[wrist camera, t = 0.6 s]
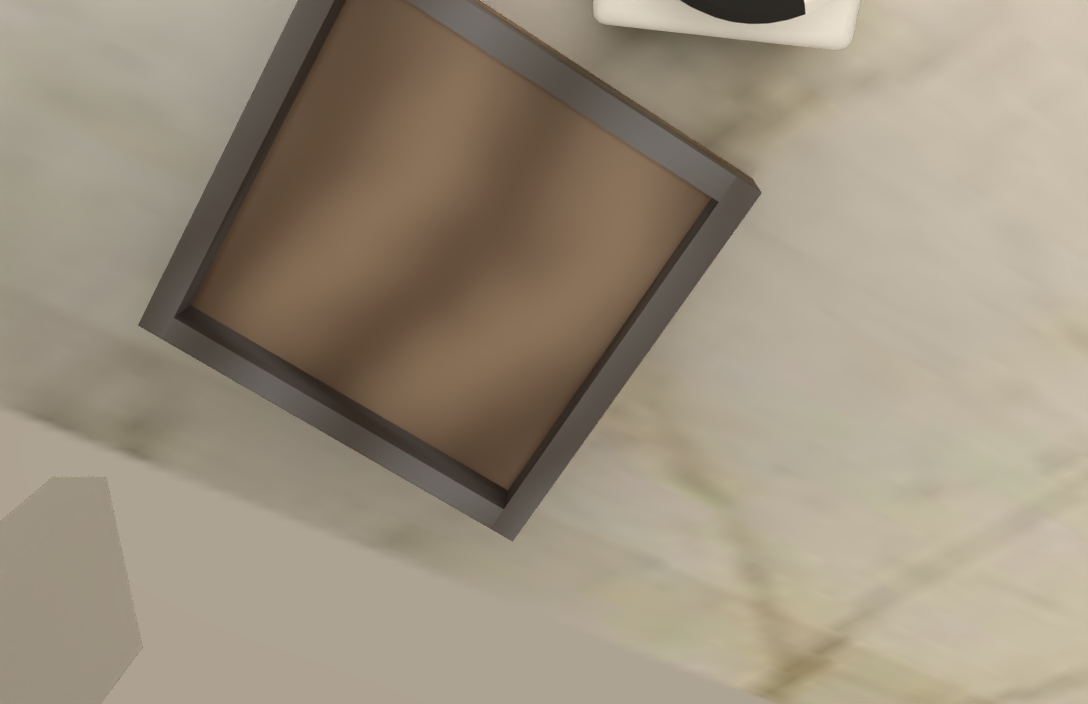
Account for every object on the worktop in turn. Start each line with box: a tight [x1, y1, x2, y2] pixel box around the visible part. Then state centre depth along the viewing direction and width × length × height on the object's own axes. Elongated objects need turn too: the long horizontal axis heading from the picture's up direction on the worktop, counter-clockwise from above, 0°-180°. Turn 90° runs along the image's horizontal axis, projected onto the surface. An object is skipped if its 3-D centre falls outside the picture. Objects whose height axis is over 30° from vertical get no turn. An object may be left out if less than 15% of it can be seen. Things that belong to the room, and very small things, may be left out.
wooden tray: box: [138, 0, 761, 541], centre depth 36 cm, size 16×16×2 cm
